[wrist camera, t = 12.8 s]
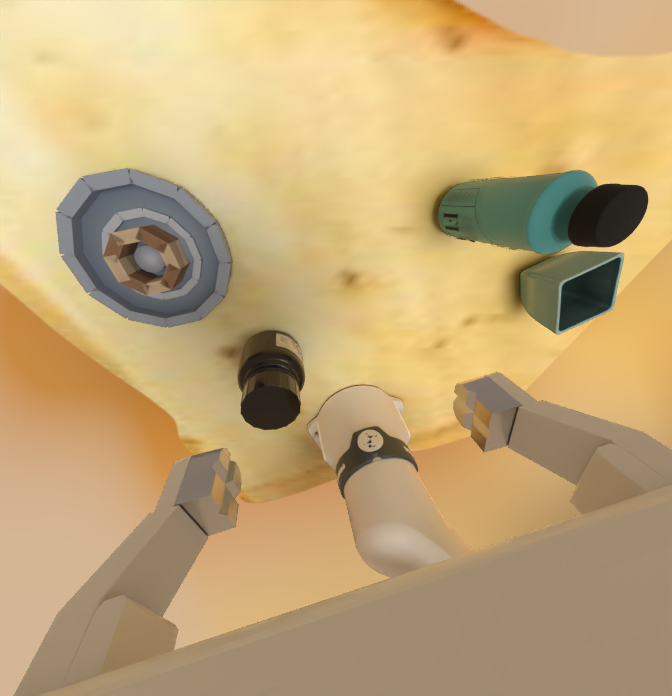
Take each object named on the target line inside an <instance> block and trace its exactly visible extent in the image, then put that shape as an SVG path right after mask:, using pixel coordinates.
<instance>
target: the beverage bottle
mask: <svg viewBox="0 0 672 696" xmlns="http://www.w3.org/2000/svg"><path fill="white" fill-rule="evenodd" d="M511 177H512V176H511ZM494 178H496V179H492V178H491V180H490V179H489V180H487V178H486V180H482V179H481V180H480V179H476V180H480V181H474V180H473V181H472V182H464V183H461V184H458V185H456V186H455V187H453V188H452V189H451V190H450V191H449V192H448V193H447V194H446V195H445V197H444V198H443V200H442V202H441V204H440V207H439V212H438V221H439V225H440V227H441V228H442V230H443V232H445V233H446V234H447V235H450V236H453V237H456V239H460V238H461V239H462V240H466V239H468V240H470V241H472V242H475V241H479V242H484V243H489V244H494V245H498V246H500V247H502V246H504V248H505V247H510V248H512V250H516V249H522V250H528V251H533V252H536V253H539V254H552V253H556V252H559V251H561V250H563V249H565V248H566V247H568V246H569V245H571V244H572V243H573V244H574V245H577V246H583V247H590V246H591V247H611V246H614V245H616V244H618V243H620V242H622V241H623V240H625V239H626V238H627V237H628V236H629V235H630V234H631V233H632V232H633V231H634V230H635V229H636V228H637V226H638V225H639V224H640V222H641V220H642V219H643V217H644V214H645V212H646V209H647V205H648V194H647V192H646V190H645V189H644V188H643V187H641V186H638V185H621V184H604V185H600V186H597V183H596V181H595V179H594V178H593V176H592V175H590V174H589V173H587V172H585V171H581V170H575V171H569V172H565V173H556V174H546V175H536V176H527V177H517V178H504V177H503V178H502V177H501V178H500V179H497V177H494ZM466 181H468V180H466ZM457 237H458V238H457ZM510 248H509V249H510ZM513 248H515V249H513ZM507 249H508V248H507Z"/></svg>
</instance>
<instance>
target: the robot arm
mask: <svg viewBox="0 0 672 696" xmlns="http://www.w3.org/2000/svg"><path fill="white" fill-rule="evenodd" d="M454 392H455V393H456V395H457V398H456V399H455V400H454V402H453V409H454V413H455V416H456V418H457V420H458V421H459V423H460V424H461V425H462V426H463V427H464V428H467V429H469V430H471V437H472V439H473V440H474V441H475V442H476V443H477V445H478V446H479V447H480V448H481V449H482V451H483V452H487V451H490V450H494V449H498V448H502V447H505V446H508V448H510V449H512V450H514V451H515V452H517V453H519V454H521V455H523V456H524V457H526V458H528V459H530V460H532V461H533V462H535V463H537V464H539V465H541V466H542V467H544V468H546V469H548V470H550V471H552V472H553V473H555V474H557V475H559V476H560V477H562V478H564V479H566V480H568V481H570V482H571V483H573V484H575V485H576V486H575V488H574V490H573V492H572V494H571V495H570V502H571V503H572V504H573V505H574V506H575V507H576V508H577V509H578V510H579V512H580V513H582V514H581V515H578V516H575V517H573V518H569V519H567V520H563V521H561V522H557V523H555V524H552V525H549V526H545V527H543V528H539V529H536V530H533V531H530V532H528V533H525V534H521V535H519V536H515V537H513V538H509V539H506V540H504V541H501V542H497V543H494V544H491V545H489V546H485V547H483V548H479V549H477V550H473V549H472V548H471V547H470V546H469V545H468V544H467V543H465V542H464V541H463V540H462V539H461V538H460V536H459V535H458V534H457V533H456V532H455V531H454V530H453V529H452V528H451V526H450V525H449V524H448V523H447V521H446V520H445V518H444V517H443V516H442V514H441V513H440V511H439V509H438V508H437V506H436V504H435V503H434V501H433V499H432V498H431V496H430V494H429V492H428V491H427V489H426V487H425V485H424V484H423V482H422V480H421V478H420V476H419V474H418V467H417V464H416V462H415V459H414V456H413V455H412V453H411V451H410V450H409V448H408V443H409V438H410V432H409V430H408V428H407V426H406V424H405V422H404V420H403V418H402V413H403V408H404V404H403V402H402V400H401V399H399V398H395V397H390V396H389V395H387V394H386V393H385V392H384V391H382V390H381V389H379V388H376V387H373V386H365V385H362V386H354V387H350V388H346V389H344V390H342V391H340V392H338V393H336V394H335V395H333V396H332V397H331V398H329V399H328V400H327V401H326V403H325V404H324V405H323V407H322V408H321V410H320V412H319V414H318V416H317V417H316V418H315V419H314V420H312V421H311V422H310V423H309V424H308V426H307V428H308V432H309V434H310V435H311V437H312V438H313V440H314V441H315V442H316V444H317V445H318V447H319V448H320V450H321V451H322V453H323V457H324V460H325V461H326V462H328V464H329V466H330V467H331V468H332V469H333V470H334V472H335V473H336V475H337V482H338V486H339V489H340V491H341V495H342V497H343V498H344V499H345V500H346V505H347V509H348V514H349V518H350V522H351V526H352V531H353V536H354V540H355V544H356V548H357V550H358V552H359V554H360V556H361V558H362V559H363V560H364V561H365V562H366V564H367V565H369V566H370V567H371V568H372V569H374V570H375V571H377V572H378V573H380V574H382V575H385V576H388V577H391V578H389V579H386V580H383V581H380V582H377V583H374V584H371V585H368V586H365V587H362V588H359V589H356V590H354V591H350V592H347V593H344V594H341V595H338V596H335V597H332V598H329V599H326V600H323V601H320V602H317V603H314V604H311V605H308V606H305V607H302V608H299V609H296V610H293V611H291V612H287V613H284V614H281V615H278V616H275V617H272V618H269V619H267V620H263V621H260V622H257V623H255V624H251V625H248V626H246V627H242V628H239V629H236V630H233V631H230V632H227V633H225V634H221V635H219V636H215V637H212V638H209V639H206V640H204V641H200V642H197V643H195V644H191V645H188V646H185V647H182V648H179V649H176V650H174V647H175V643H176V638H177V634H178V629H177V627H176V625H175V624H173V623H171V622H170V621H168V620H166V619H164V618H163V617H162V616H163V615H164V613H165V611H166V609H167V608H168V606H169V604H170V603H171V601H172V599H173V597H174V596H175V594H176V592H177V591H178V589H179V587H180V585H181V584H182V582H183V580H184V579H185V577H186V575H187V573H188V572H189V570H190V568H191V567H192V565H193V563H194V561H195V560H196V558H197V556H198V555H199V553H200V551H201V549H202V548H203V546H204V544H205V543H206V541H207V539H208V536H210V535H212V534H216V533H218V532H222V531H225V530H228V529H231V528H234V527H236V521H237V513H238V504H237V502H236V501H235V498H236V497H237V495H238V494H239V492H240V489H241V475H240V471H239V467H238V466H237V464H236V462H233V461H231V460H230V455H231V454H230V452H229V451H228V450H227V448H221V449H217V450H213V451H209V452H205V453H201V454H197V455H193V456H190V457H186V458H182V459H178V460H177V461H176V462H175V463H174V464H173V466H172V469H171V471H170V473H169V476H168V479H167V481H166V484H165V486H164V489H163V491H162V494H161V496H160V499H159V501H158V504H157V506H156V509H155V511H154V512H153V513H150V514H148V515H147V516H146V517H145V519H144V520H143V521H142V522H141V523H140V524H139V525H138V526H137V527H136V529H134V531H133V532H132V533H131V534H130V535H129V536H128V537H127V538H126V539H125V540H124V541H123V542H122V544H121V545H120V546H119V547H118V548H117V549H116V550H115V551H114V552H113V553H112V554H111V556H110V557H109V558H108V559H107V560H106V561H105V562H104V563H103V564H102V565H101V567H100V568H99V569H98V570H97V571H96V572H95V573H94V574H93V575H92V576H91V577H90V578H89V580H88V581H87V582H86V583H85V584H84V585H83V586H82V587H81V589H80V590H78V592H77V593H76V594H75V595H74V596H73V597H72V598H71V599H70V600H69V601H68V602H67V604H66V605H65V606H64V607H63V608H62V609H61V610H60V611H59V612H58V614H57V615H56V617H55V619H54V621H53V623H52V625H51V627H50V628H49V630H48V632H47V634H46V636H45V638H44V640H43V642H42V644H41V645H40V647H39V649H38V651H37V653H36V655H35V657H34V659H33V660H32V662H31V664H30V666H29V668H28V670H27V672H26V674H25V675H24V677H23V679H22V681H21V683H20V685H19V687H18V689H17V690H16V693H15V694H14V696H672V450H671V449H669V448H667V447H666V446H664V445H663V444H661V443H660V442H658V441H657V440H655V439H653V438H652V437H650V436H649V435H647V434H645V433H644V432H641V431H638V430H635V429H632V428H628V427H626V426H622V425H619V424H616V423H613V422H609V421H607V420H603V419H600V418H597V417H594V416H590V415H587V414H584V413H581V412H578V411H575V410H572V409H568V408H565V407H562V406H559V405H556V404H552V403H549V402H546V401H543V400H541V401H537V400H535V399H534V398H533V397H531V396H530V395H529V394H528V393H526V392H525V391H524V390H522V389H521V388H520V387H518V386H517V385H516V384H515V383H513V382H512V381H511V380H509V379H508V378H507V377H505V376H504V375H503V374H501V373H498V372H496V373H492V374H489V375H485V376H483V377H478V378H475V379H471V380H468V381H464V382H461V383H457V384H456V386H455V391H454Z"/></svg>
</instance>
